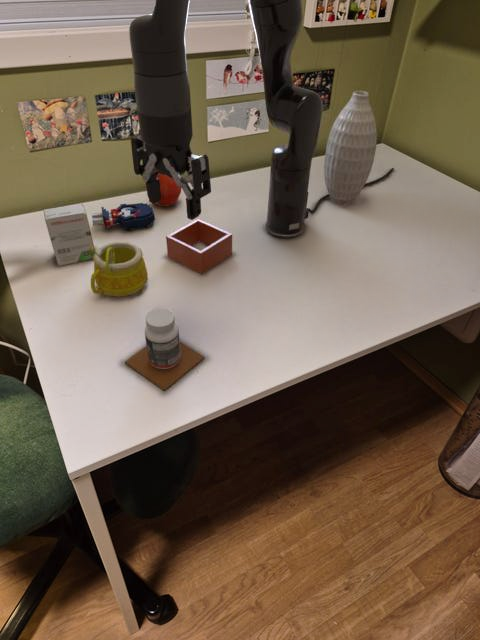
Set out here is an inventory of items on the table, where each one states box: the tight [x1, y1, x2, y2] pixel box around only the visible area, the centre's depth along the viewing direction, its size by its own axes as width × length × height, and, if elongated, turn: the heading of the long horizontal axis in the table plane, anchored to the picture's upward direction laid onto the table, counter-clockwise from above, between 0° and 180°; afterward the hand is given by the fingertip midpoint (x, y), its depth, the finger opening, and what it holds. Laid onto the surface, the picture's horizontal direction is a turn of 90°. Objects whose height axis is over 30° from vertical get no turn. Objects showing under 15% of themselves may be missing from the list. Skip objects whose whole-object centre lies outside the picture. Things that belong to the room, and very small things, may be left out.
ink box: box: [43, 203, 96, 267], centre depth 103 cm, size 9×5×12 cm, turn 112°
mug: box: [90, 241, 148, 297], centre depth 95 cm, size 13×11×12 cm
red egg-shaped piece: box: [155, 173, 182, 207], centre depth 124 cm, size 8×8×11 cm
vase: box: [323, 90, 378, 205], centre depth 122 cm, size 13×13×28 cm
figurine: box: [91, 202, 156, 232], centre depth 117 cm, size 9×4×15 cm
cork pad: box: [124, 341, 206, 392], centre depth 83 cm, size 10×10×1 cm
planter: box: [165, 218, 233, 275], centre depth 107 cm, size 11×11×6 cm
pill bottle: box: [144, 307, 181, 369], centre depth 80 cm, size 6×6×10 cm
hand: (174, 209), depth 76 cm, fingers open, 8 cm apart
